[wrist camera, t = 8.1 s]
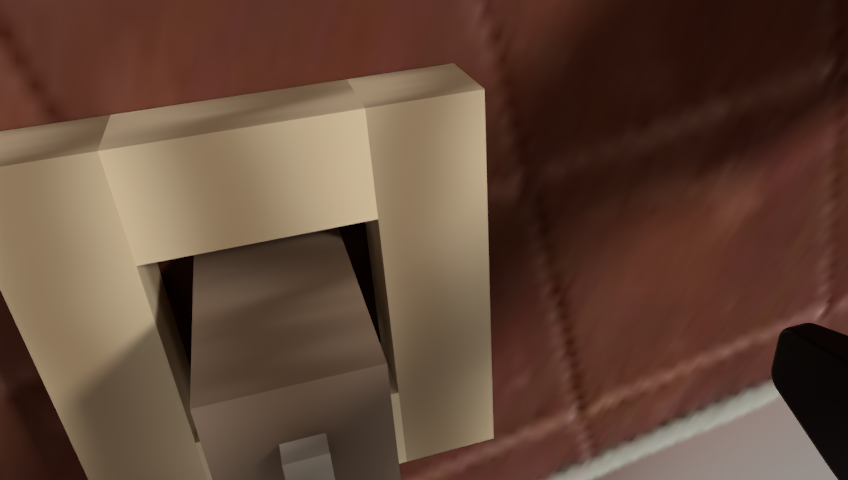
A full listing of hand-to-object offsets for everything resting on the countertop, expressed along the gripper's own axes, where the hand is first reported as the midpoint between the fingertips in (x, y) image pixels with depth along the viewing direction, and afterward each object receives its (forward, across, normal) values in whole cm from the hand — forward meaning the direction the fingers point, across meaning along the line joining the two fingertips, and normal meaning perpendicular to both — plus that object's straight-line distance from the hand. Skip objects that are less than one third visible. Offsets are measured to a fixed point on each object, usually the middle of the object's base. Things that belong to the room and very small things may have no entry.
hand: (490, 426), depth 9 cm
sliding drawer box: (+12, +3, +4) cm, 13 cm away
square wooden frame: (+12, +3, +4) cm, 13 cm away
